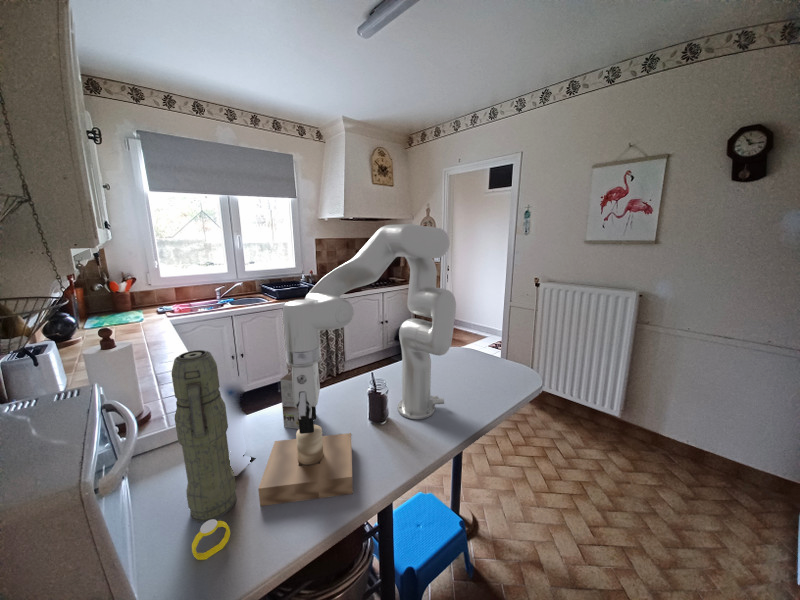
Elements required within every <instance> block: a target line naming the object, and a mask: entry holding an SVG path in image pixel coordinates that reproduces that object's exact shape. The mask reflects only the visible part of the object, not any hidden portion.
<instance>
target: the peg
mask: <svg viewBox="0 0 800 600" xmlns="http://www.w3.org/2000/svg"><path fill="white" fill-rule="evenodd" d="M322 436H323V429H322V427H321V426H320V425H318V424H314V432H313V433H304V434H300V431H299V429H297V431H296V433H295V437H296V438H295V439H297V453H298V462H299V463H300V464H301V465H303V466H312V465H315V464H319V462H320V461H321V460H322V459H323V456H324V453H323V439H322Z"/></svg>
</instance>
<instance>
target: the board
mask: <svg viewBox="0 0 800 600" xmlns="http://www.w3.org/2000/svg"><path fill="white" fill-rule="evenodd" d="M322 439H323V453H324V456H323V459H322V460H321V461H320V462H319V464H315V465H312V466H303V465H301V464H300V463H299V462H298V453H297V439H296V438H291V439H284V440H283V439H281V440H274V442H273V444H272V448H271V452H270V454H269V457H268V460H267V463H266V465H265V469H264V471H263V474H262V477H261V480H260V482H259V485H258V490H257V491H258V497H259V506H260V507H263V506H271V505H279V504H287V503H294V502H301V501H308V500H309V501H310V500H316V499H324V498H331V497H338V496H339V497H340V496H345V495H346V496H347V495H351V494H352V495H353V494H354V493H353V484H354V483H353V454H352V449H353V448H352V432H350V433H349V432H348V433H341V434H338V433H337V434H331V435H322Z"/></svg>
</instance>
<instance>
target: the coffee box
mask: <svg viewBox="0 0 800 600" xmlns="http://www.w3.org/2000/svg"><path fill="white" fill-rule="evenodd" d="M280 391H281V392H280V393H281V405H282V418H283V419H282V421H283V427H284V428H288V429H296V430H299V406H298V408H295V406H294V400H293V386H292V370H291V371H289V372H288V373H287V374H285V375H284V376H282V377H281V378H280Z"/></svg>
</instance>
